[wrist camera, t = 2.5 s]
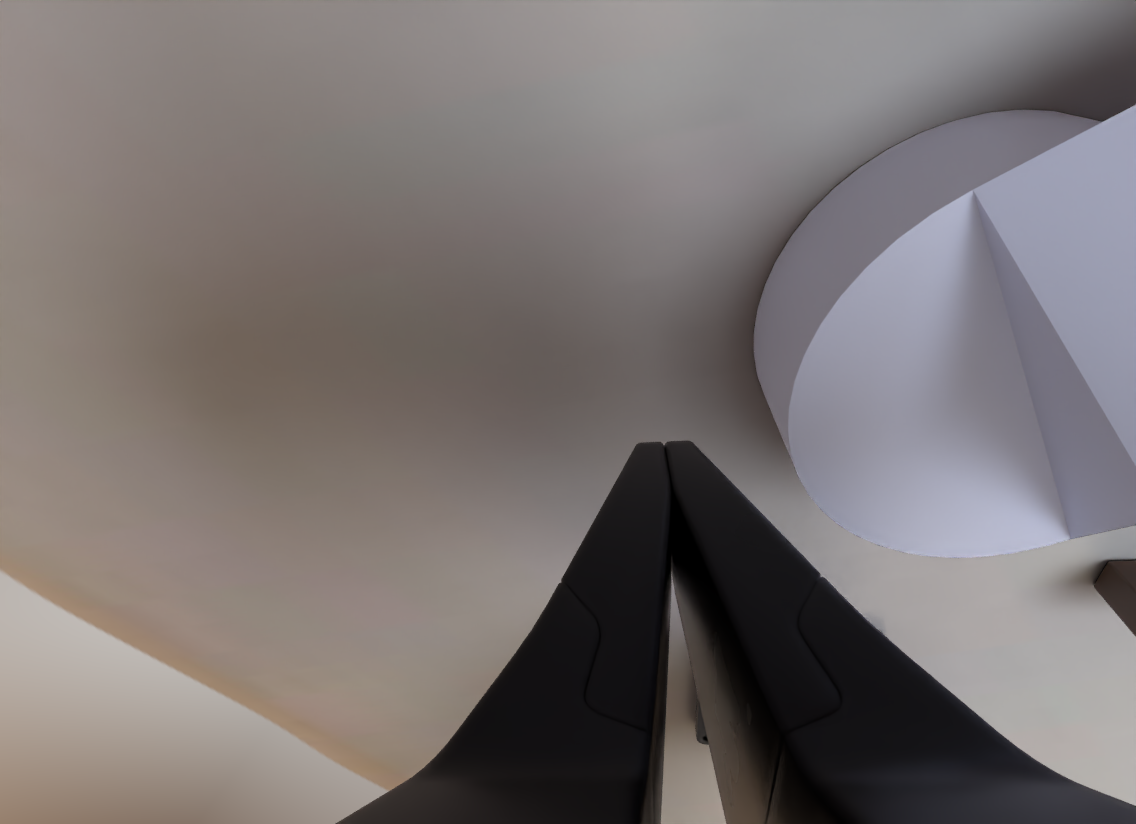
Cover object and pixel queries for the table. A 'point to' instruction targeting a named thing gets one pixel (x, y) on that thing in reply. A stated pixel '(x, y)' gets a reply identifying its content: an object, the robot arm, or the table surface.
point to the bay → (1120, 590)
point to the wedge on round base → (965, 337)
